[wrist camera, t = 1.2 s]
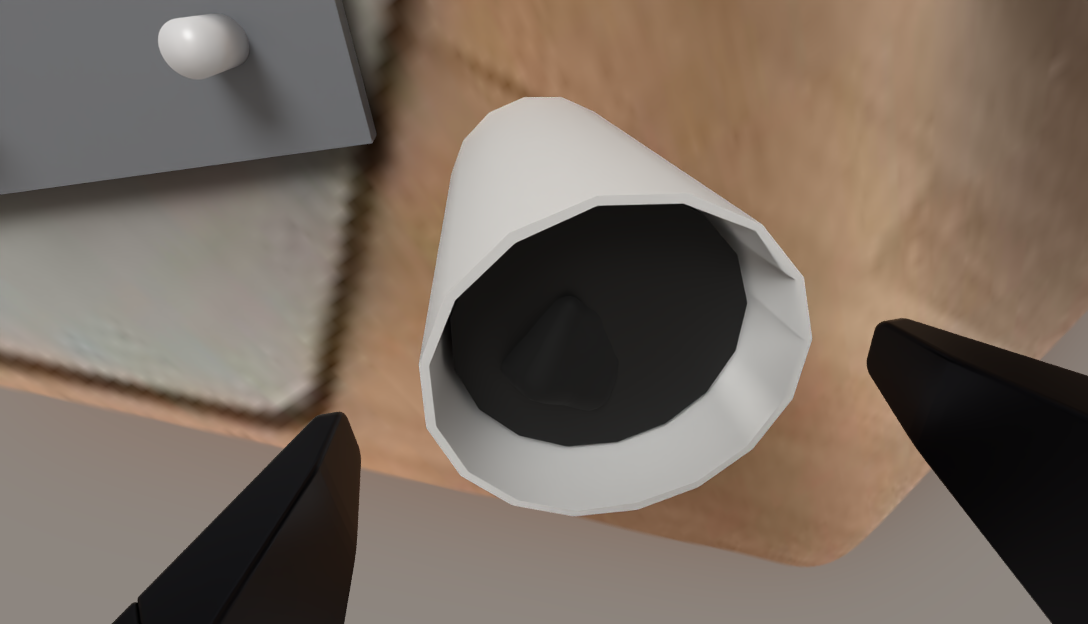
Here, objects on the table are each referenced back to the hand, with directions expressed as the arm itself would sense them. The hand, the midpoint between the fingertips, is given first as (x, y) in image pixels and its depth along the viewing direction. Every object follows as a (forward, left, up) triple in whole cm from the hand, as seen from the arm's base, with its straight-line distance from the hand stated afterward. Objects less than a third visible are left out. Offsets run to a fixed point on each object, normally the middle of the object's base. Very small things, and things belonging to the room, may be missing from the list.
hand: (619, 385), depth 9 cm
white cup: (0, 0, -10) cm, 10 cm away
